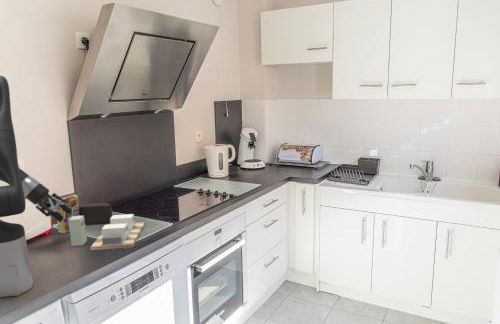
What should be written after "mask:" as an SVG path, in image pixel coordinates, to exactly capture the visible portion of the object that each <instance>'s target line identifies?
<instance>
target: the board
mask: <svg viewBox="0 0 500 324" xmlns="http://www.w3.org/2000/svg"><path fill="white" fill-rule="evenodd" d="M135 222H136V223H135V225H134V227H133V229H132V230H131V231H130V233H129V235H128V237H127V238H126V239H125V241H124V242H123V244H122V245H110V246H101V244H102V243H103V242H102V233H101V234H100V235H99V236H98V237H97V238H96V240H95V241H94V242H93V243H92V245H91V246H90V248H89V249H90V251H96V250H97V251H98V250H99V251H100V250H111V249H113V250H114V249H115V250H116V249H129V248H133V247H134V246H135V243H136V242H137V240H138V238H139V237H140V235H141V232H142V230H143V229H144V227H145V226H146V221H135Z"/></svg>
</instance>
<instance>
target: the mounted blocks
mask: <svg viewBox="0 0 500 324" xmlns="http://www.w3.org/2000/svg"><path fill="white" fill-rule="evenodd" d="M135 222H136V221H135V214H134V213H128V214H115V215H114V214H112V217H111V218H110V223H107V224H103V227H101V234H102V242H103V244H114V243H121V242H122V240H124V239H126V238H127V237H128V235H129V233H128V229H133V227H134V225H135Z"/></svg>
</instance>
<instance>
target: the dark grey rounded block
mask: <svg viewBox="0 0 500 324" xmlns="http://www.w3.org/2000/svg"><path fill="white" fill-rule="evenodd" d="M79 213H80V216H84V221H85V226H88V225H89V226H90V225H102V224H103V225H106V224H110V218H111V217H112V216H113V211H112V205H111V204H110V203H109V202H94V203H93V202H92V203H84V204H79Z"/></svg>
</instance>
